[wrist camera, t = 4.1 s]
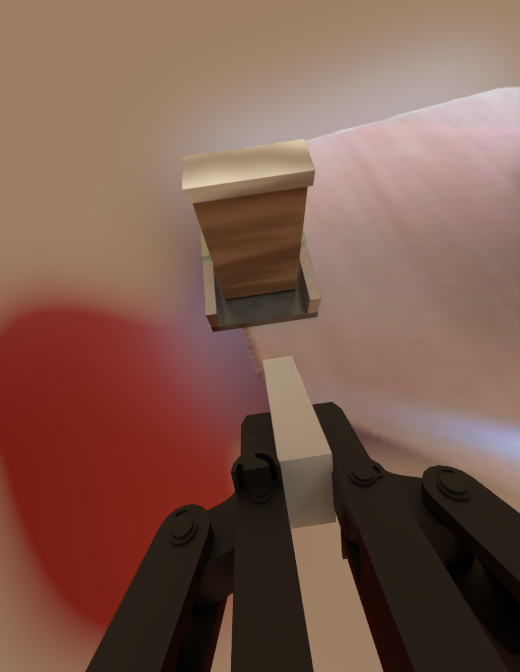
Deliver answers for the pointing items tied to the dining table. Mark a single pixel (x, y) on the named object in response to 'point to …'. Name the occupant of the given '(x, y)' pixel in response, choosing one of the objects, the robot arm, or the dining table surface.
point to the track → (260, 298)
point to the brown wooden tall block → (251, 213)
